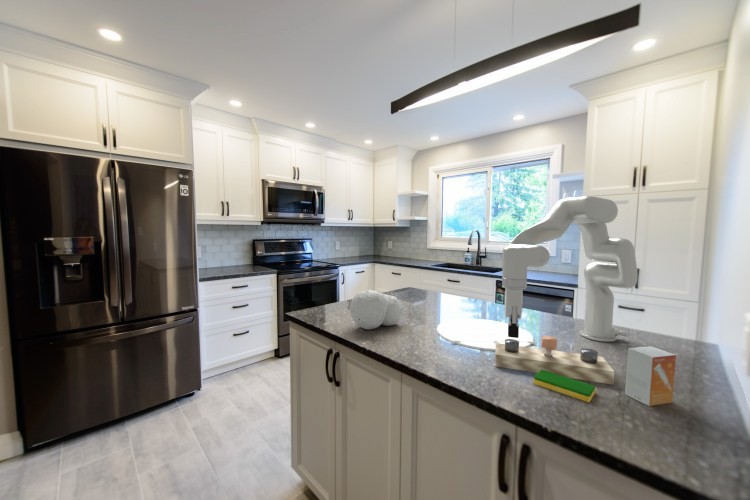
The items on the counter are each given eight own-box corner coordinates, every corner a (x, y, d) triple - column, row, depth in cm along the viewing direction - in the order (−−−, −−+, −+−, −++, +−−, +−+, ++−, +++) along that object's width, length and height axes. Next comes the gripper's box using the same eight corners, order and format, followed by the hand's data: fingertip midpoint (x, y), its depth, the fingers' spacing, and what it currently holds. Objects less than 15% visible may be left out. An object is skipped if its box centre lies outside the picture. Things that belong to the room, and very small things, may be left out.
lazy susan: (554, 353, 112) (555, 344, 112) (447, 352, 113) (448, 343, 113) (509, 321, 152) (509, 314, 152) (430, 320, 153) (430, 313, 153)
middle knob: (554, 357, 101) (555, 336, 101) (557, 362, 97) (558, 341, 97) (539, 355, 103) (540, 335, 102) (541, 360, 99) (542, 339, 98)
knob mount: (601, 368, 99) (602, 356, 99) (613, 384, 89) (614, 371, 89) (495, 353, 111) (495, 343, 111) (495, 366, 101) (495, 354, 101)
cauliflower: (416, 309, 144) (391, 270, 144) (386, 341, 127) (357, 297, 126) (389, 319, 159) (366, 283, 159) (358, 349, 141) (332, 309, 141)
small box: (649, 407, 78) (652, 357, 77) (624, 394, 84) (626, 347, 83) (673, 403, 80) (677, 354, 79) (647, 390, 86) (650, 345, 85)
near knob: (594, 370, 97) (595, 349, 97) (598, 376, 93) (599, 354, 93) (578, 368, 99) (579, 347, 98) (581, 373, 95) (582, 352, 94)
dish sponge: (541, 376, 95) (541, 369, 95) (595, 394, 85) (595, 385, 85) (532, 384, 90) (533, 376, 90) (589, 404, 80) (589, 395, 80)
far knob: (518, 359, 105) (518, 339, 105) (518, 364, 101) (519, 344, 101) (504, 357, 107) (504, 338, 106) (504, 362, 103) (505, 342, 102)
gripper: (501, 278, 111) (500, 328, 112) (502, 286, 97) (501, 343, 98) (524, 280, 108) (523, 330, 109) (528, 288, 94) (527, 346, 95)
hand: (513, 336), depth 104 cm, fingers closed
